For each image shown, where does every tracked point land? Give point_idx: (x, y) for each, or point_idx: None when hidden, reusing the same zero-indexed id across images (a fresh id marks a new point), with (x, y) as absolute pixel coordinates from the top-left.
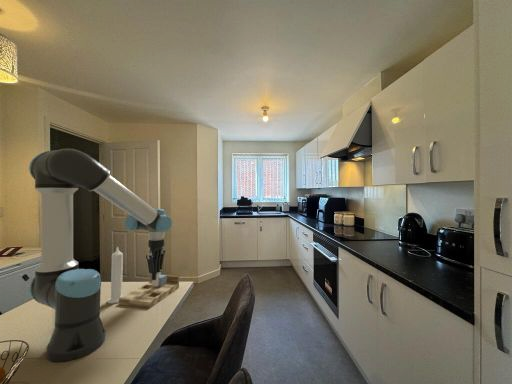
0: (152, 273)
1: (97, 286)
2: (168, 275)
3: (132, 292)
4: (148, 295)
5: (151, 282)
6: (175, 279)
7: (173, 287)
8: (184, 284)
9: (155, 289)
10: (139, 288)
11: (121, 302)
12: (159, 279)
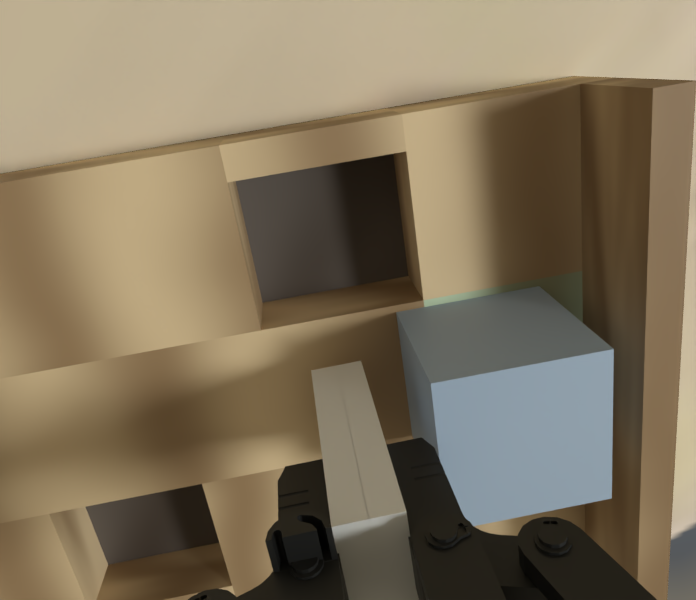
0: (271, 594)
1: None
2: (672, 443)
3: (20, 216)
4: (90, 504)
5: (517, 143)
6: (612, 543)
7: None
8: (690, 476)
9: (289, 437)
10: (206, 177)
11: None
12: None
